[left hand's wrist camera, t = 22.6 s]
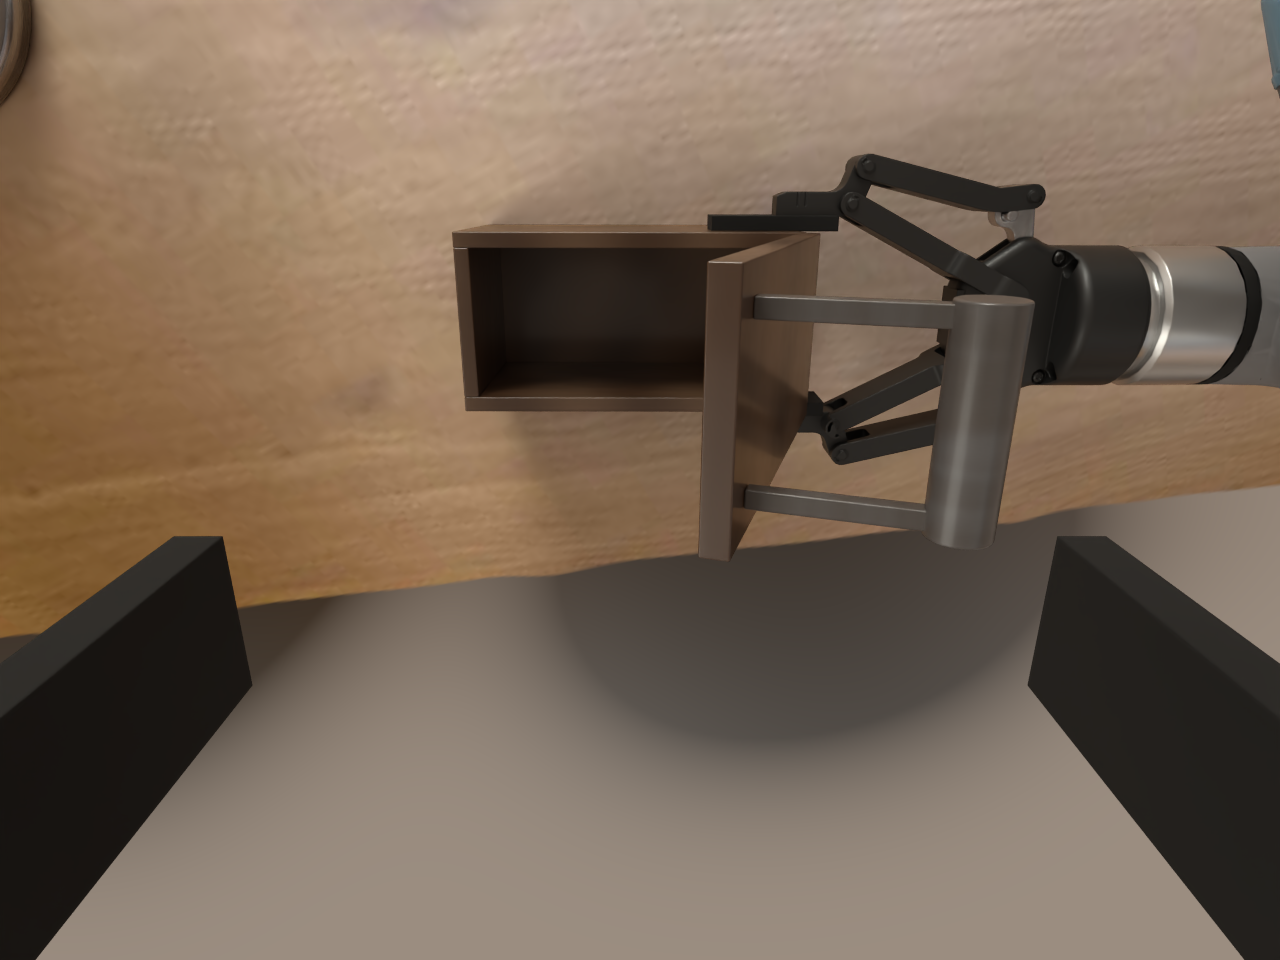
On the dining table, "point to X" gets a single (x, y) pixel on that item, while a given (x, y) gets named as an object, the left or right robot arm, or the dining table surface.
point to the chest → (587, 314)
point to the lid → (778, 393)
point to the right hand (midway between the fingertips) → (707, 316)
